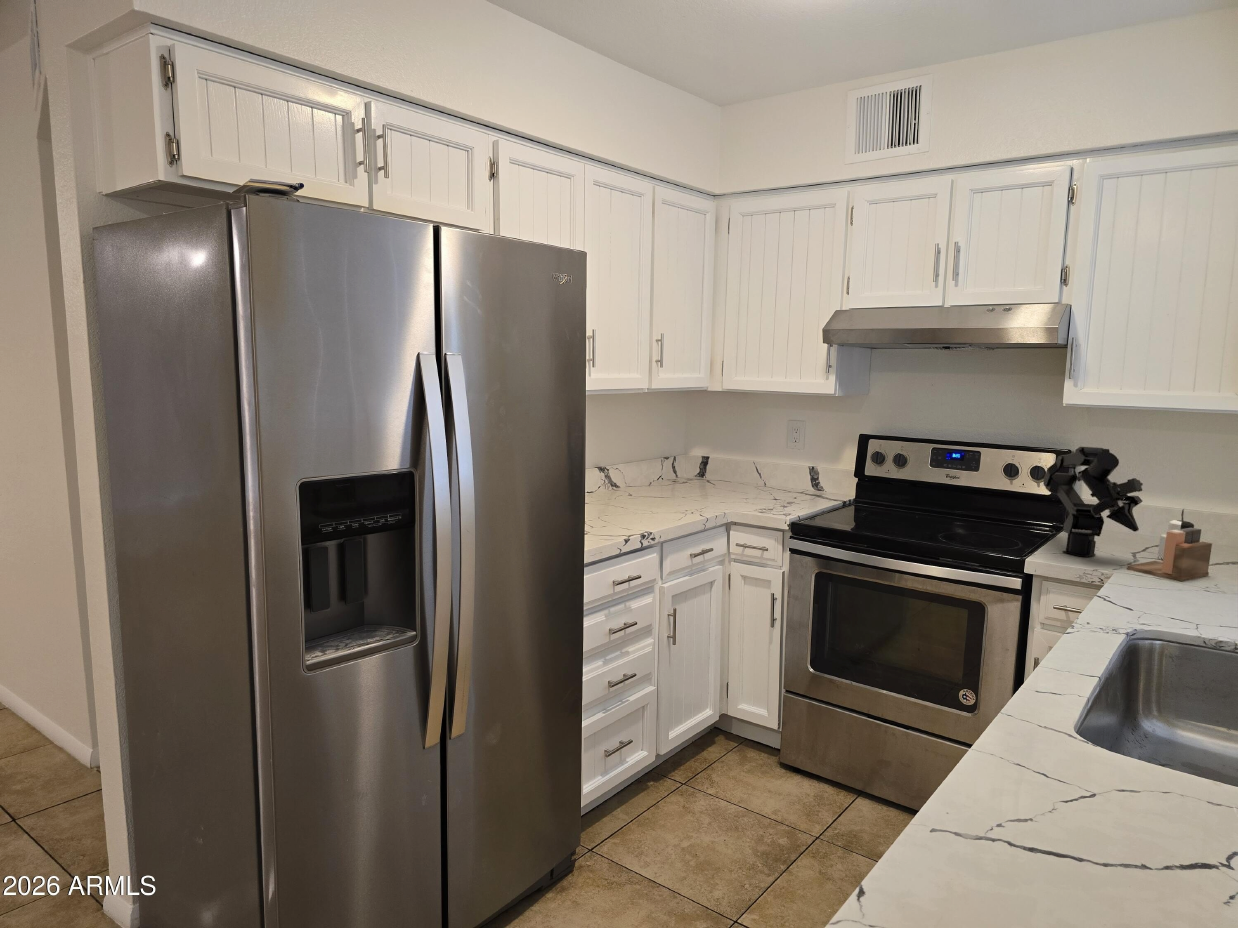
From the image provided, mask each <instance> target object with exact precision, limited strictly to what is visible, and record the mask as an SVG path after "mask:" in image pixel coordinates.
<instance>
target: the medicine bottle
mask: <svg viewBox="0 0 1238 928" xmlns="http://www.w3.org/2000/svg"><path fill="white" fill-rule="evenodd" d="M1185 528H1195V524H1194V523H1192V522H1191V521H1186V520H1177V519H1173V520H1171V521H1169V522H1168V529H1167V532H1168V531H1170V530H1179V529H1185ZM1165 542H1166V534H1160V536H1159V543H1158V547H1157V548H1158V550H1157V556H1158V557H1160V558H1162V559H1163V556H1164V549H1165ZM1158 557H1157V558H1158ZM1162 559H1161V560H1162Z"/></svg>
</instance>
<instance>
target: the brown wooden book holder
mask: <svg viewBox="0 0 1238 928" xmlns="http://www.w3.org/2000/svg"><path fill="white" fill-rule="evenodd" d="M1179 531H1183V532H1186V533H1185V540H1184V544H1179V545H1177V546H1176V549H1175V556H1174V563H1173V570H1172V574H1168V573H1164V572H1161V570H1162V563H1163V561H1158V560H1152V561H1146V562H1141V563H1136V564H1135V563H1134V564H1129V565H1127V567H1126V570H1129V571H1132V570H1133V572H1137V573H1141V572H1142V574H1146V575H1151V576H1155V577H1159V578H1163V579H1168V580H1172V581H1176V582H1180V583H1182V582H1186V581H1187V582H1188V581H1191V580H1196V579H1200V578H1204V577H1209V574H1210V573H1209V567H1210V562H1211V561H1210V560H1211V554H1212V548H1213V543H1212V542H1207V541H1206V542H1205V541H1201V534H1202V529H1201V528H1196V527H1194V528H1185V529H1179Z"/></svg>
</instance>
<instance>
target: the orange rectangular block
mask: <svg viewBox="0 0 1238 928" xmlns="http://www.w3.org/2000/svg"><path fill="white" fill-rule="evenodd" d="M1185 533H1186V532H1183V531H1179V530H1170V531H1168V530H1167V531H1166V534H1165V535H1166V542H1165V549H1164V556H1163V560H1162V562H1163V563H1162V570H1161V572H1164V573H1168V574H1172V570H1173V563H1174V556H1175V549H1176V546H1177V545H1179V544H1184V540H1185Z"/></svg>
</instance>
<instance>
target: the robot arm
mask: <svg viewBox="0 0 1238 928" xmlns="http://www.w3.org/2000/svg"><path fill="white" fill-rule="evenodd" d="M1119 464H1120V459H1119V458H1118V457H1117V456H1116V455H1115V454H1114V453H1112V452H1110V449H1109V448H1103V447H1095V446H1094V447H1093V446H1081V445H1080V446H1078V447H1077V448H1076V449H1075V451H1074V452H1073V453H1072V452H1071V453H1069V454H1061V455H1058V456H1057V458H1056V461H1055V462H1053V463H1052V464H1050V466H1049V467H1048V468H1047V469H1046V471H1045V475H1044V476H1043V481H1042V482H1043V483H1042V485H1043V486H1044V488H1045V490H1046V491H1048V492H1049V493H1052V494H1054V495H1057V496H1058V498H1059V499H1060V501H1061V503H1062V504H1063V505H1064V507H1065V508H1066V510H1067V512H1068V513H1069V515H1068V516H1067V518H1066V520H1065V521H1064V523H1063V532H1065V533H1066V534H1067V538H1066V547H1065V550H1062V553H1064V554H1068V553H1070V554H1069V555H1072V556H1076V557H1082V558H1088V557H1094V556H1096V553H1095V551H1096V544H1097V543H1096V540H1095V538H1096V537H1100V536H1101V534H1102V531H1103V527H1104V524H1105V520H1104V519H1105V518H1104V517H1103V515H1102V513H1104V512H1105V511H1108V513H1109V514H1107V515H1106V519H1110V520H1112V521H1114V522H1115V523H1118V524H1119V525H1121V526H1123V527H1125V528H1127V529H1128V530H1130V531H1132V532H1133V533H1135V532H1138V531H1139V530H1140V529H1139V526H1138V523H1137V520H1136V518H1135V516H1134V512H1133V509H1134V508H1135V507H1137V506H1139V505H1140V504H1141V503H1142V502H1143V500H1142V498H1141V497H1140V496H1139V495H1135V494H1133V495H1128V494H1132V493H1136V492H1138V493H1140V492H1143V491H1144V490H1143V485H1144V484H1143V483H1142V482H1141V480H1140V479H1137V478H1136V477H1134V478H1131V479H1127V481H1125V482H1122V483H1118V482H1115V481H1113V482H1112V480H1110V479H1109V477H1110V476H1111V474H1112V473H1113V472H1115V470H1116V469H1117V467H1119ZM1079 467H1085V468H1084V469H1083V470H1080V471H1078V472H1077V471H1076V469H1077V468H1079ZM1060 469H1072V473H1064V472H1062V473H1061V472H1059V471H1060ZM1077 482H1083V483H1084V484H1085V486H1086V487H1087V488H1088V490H1089V491H1090V492H1091V493H1090V496H1091V498H1096V499H1097V501H1098V502H1097V503H1095V504H1094V503H1085V501H1084V500H1083V499H1082V497H1081V496H1080V495H1079V493H1078V492H1077V490H1076V488H1075V486H1076V483H1077Z"/></svg>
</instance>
